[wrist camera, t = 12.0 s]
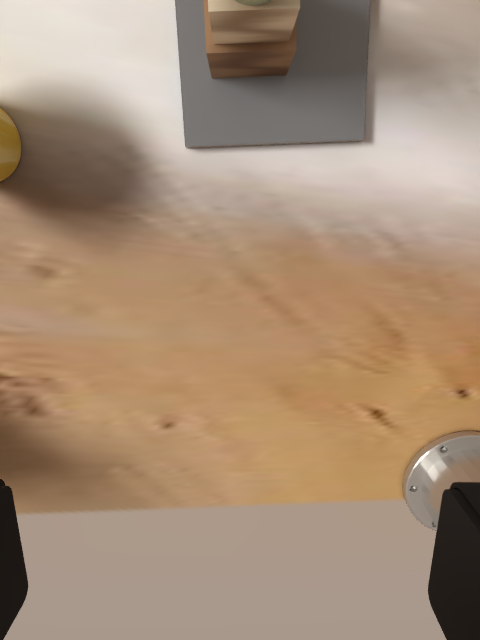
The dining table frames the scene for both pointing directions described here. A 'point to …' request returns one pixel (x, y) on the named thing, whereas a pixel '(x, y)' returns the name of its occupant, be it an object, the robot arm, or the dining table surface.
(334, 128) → the slate board
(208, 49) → the tower base
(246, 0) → the pale green rounded piece
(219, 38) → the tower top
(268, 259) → the dining table surface
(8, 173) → the plant pot
